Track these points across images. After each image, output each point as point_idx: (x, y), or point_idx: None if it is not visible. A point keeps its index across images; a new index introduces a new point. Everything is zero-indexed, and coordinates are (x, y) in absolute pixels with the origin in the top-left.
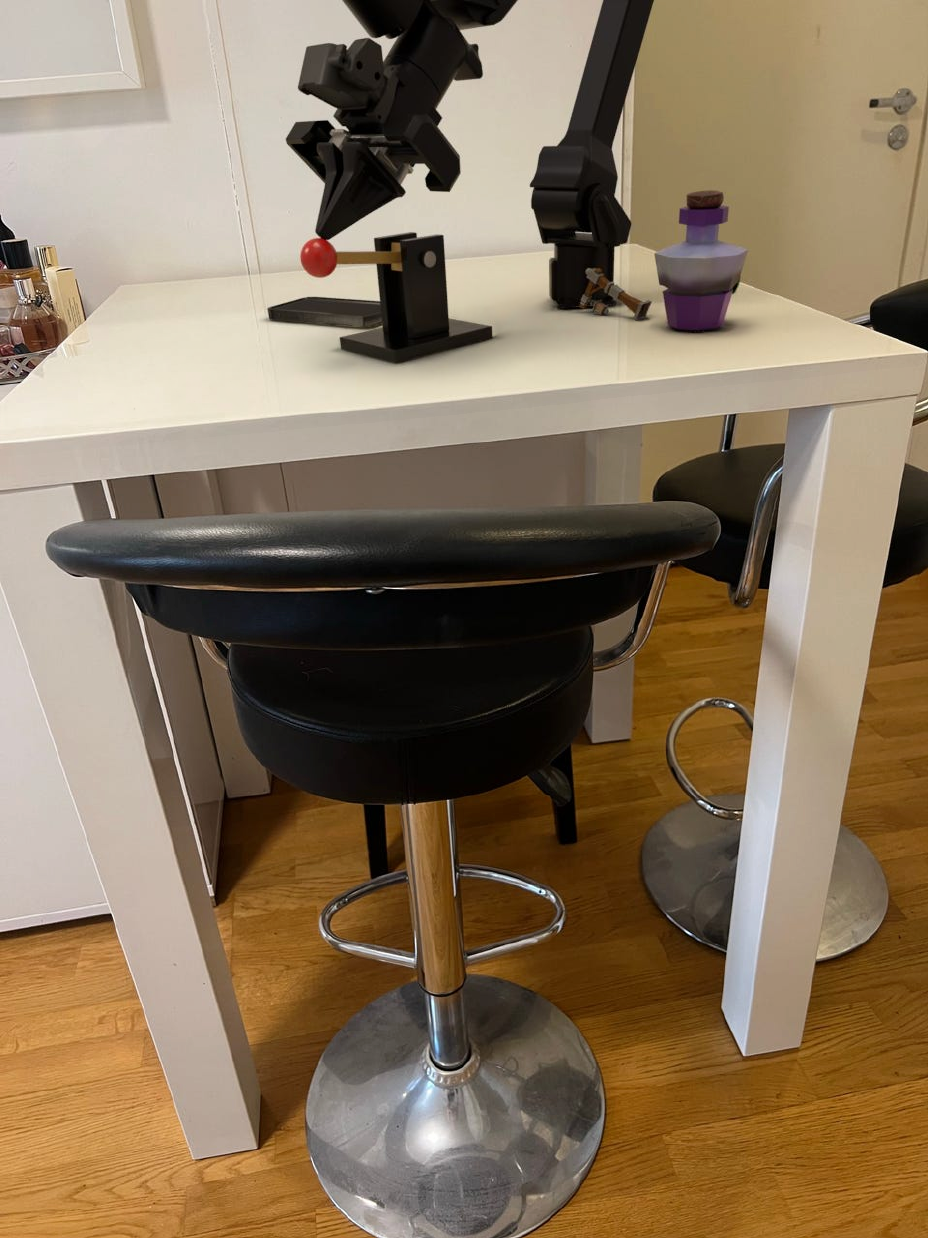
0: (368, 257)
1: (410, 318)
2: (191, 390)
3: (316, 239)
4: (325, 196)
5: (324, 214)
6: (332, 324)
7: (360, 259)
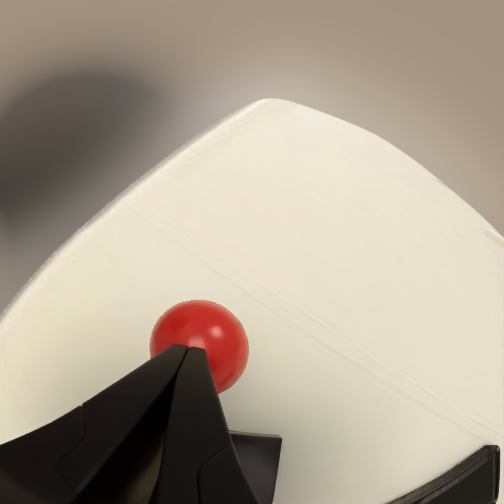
0: None
1: (154, 486)
2: (280, 206)
3: (182, 331)
4: (200, 431)
5: (168, 372)
6: (403, 497)
7: None
